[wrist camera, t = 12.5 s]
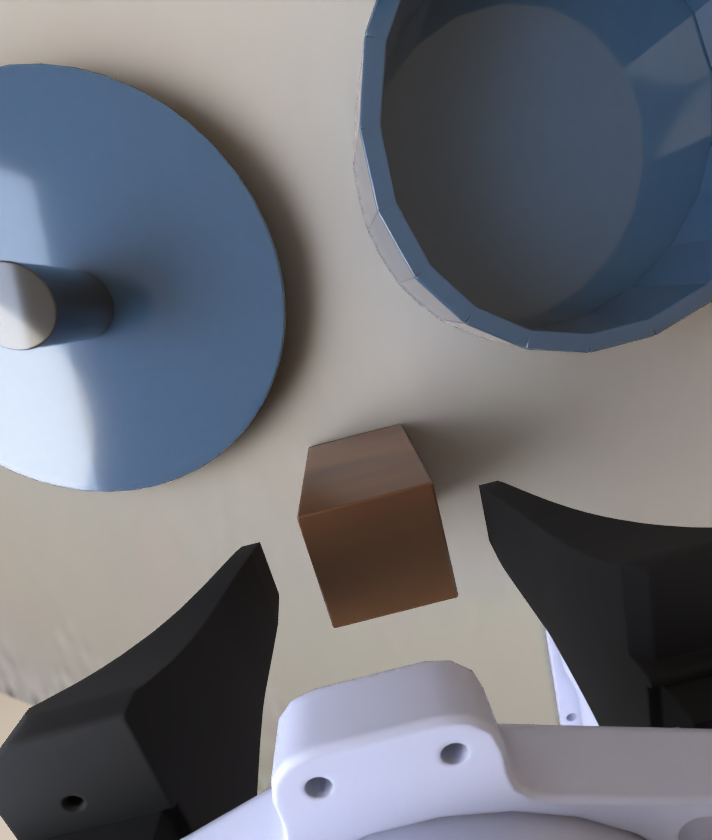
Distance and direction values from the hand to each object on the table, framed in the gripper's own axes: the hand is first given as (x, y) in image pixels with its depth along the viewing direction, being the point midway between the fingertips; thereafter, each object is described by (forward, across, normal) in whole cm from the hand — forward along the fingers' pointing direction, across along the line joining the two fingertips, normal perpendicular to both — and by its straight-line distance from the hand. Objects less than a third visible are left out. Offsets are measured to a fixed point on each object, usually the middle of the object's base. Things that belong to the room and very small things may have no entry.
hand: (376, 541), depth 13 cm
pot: (+5, -9, -10) cm, 15 cm away
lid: (+4, +8, -9) cm, 13 cm away
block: (+5, 0, 0) cm, 5 cm away
